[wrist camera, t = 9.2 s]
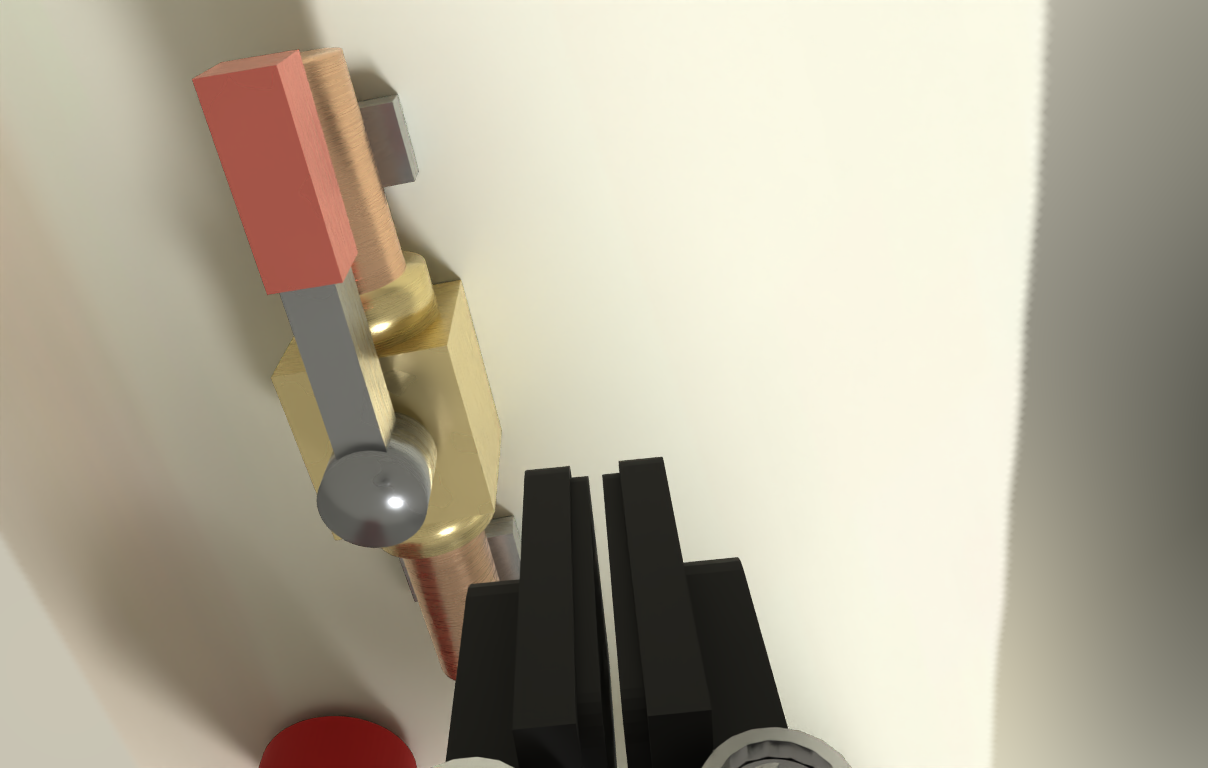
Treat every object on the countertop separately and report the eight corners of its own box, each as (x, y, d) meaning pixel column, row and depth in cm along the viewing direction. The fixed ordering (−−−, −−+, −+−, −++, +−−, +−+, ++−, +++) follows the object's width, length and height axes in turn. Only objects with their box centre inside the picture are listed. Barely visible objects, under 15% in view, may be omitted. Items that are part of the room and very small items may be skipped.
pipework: (546, 596, 38) (546, 690, 34) (420, 618, 38) (403, 714, 34) (393, 29, 28) (364, 59, 23) (221, 63, 28) (160, 98, 23)
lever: (447, 486, 29) (438, 538, 27) (351, 501, 29) (334, 554, 27) (323, 43, 23) (298, 62, 20) (202, 64, 23) (163, 85, 21)
